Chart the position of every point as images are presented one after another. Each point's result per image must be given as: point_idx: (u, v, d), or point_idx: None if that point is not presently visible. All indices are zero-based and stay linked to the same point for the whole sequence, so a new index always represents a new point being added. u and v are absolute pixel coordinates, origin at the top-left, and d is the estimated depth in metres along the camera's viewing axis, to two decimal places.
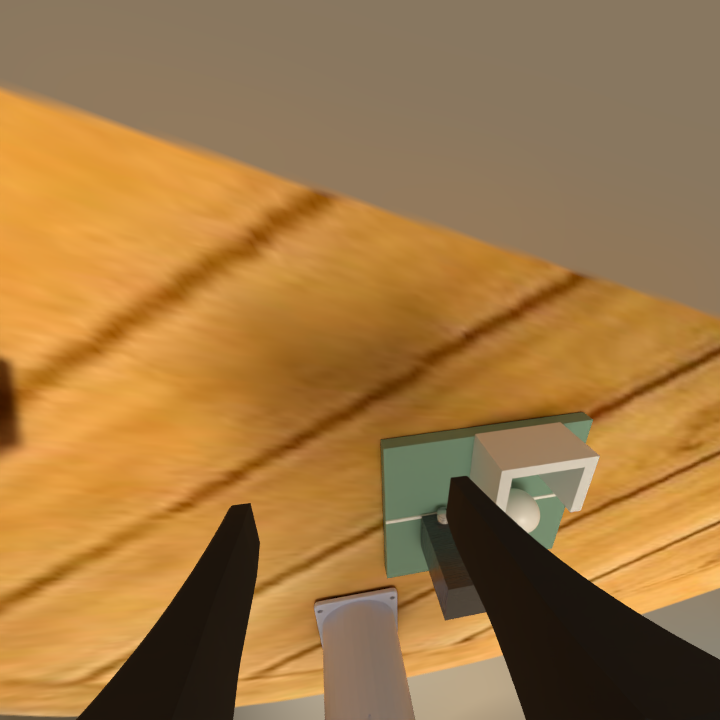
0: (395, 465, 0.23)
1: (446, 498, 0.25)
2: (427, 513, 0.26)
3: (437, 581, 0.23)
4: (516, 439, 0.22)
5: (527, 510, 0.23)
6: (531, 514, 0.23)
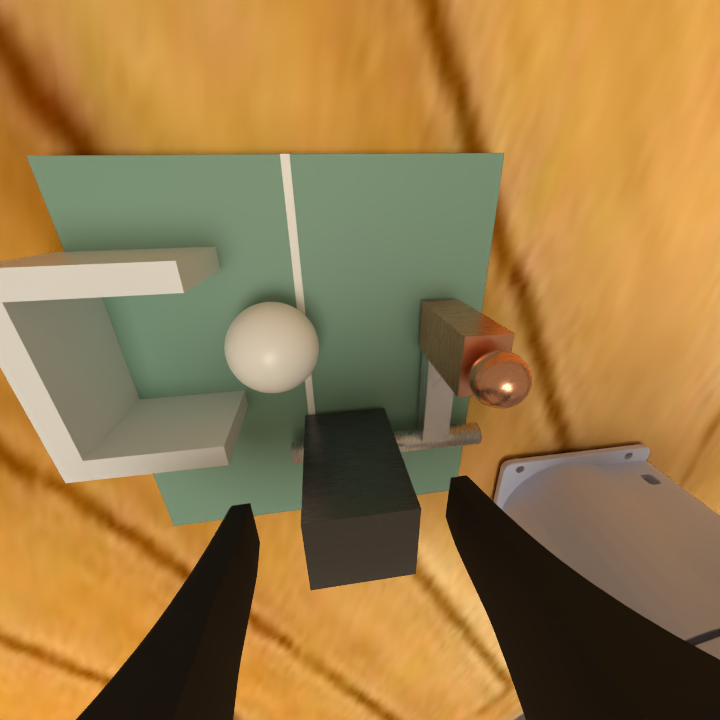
0: (204, 509, 0.16)
1: (279, 435, 0.15)
2: None
3: None
4: None
5: (230, 361, 0.10)
6: (235, 357, 0.10)
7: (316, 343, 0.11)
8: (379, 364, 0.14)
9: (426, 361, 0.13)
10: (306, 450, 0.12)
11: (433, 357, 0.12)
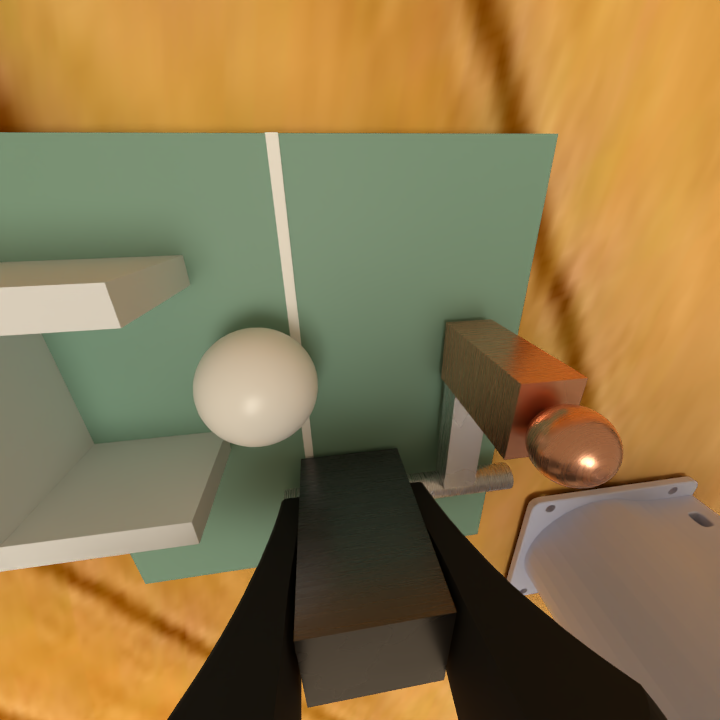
0: (181, 565, 0.13)
1: (270, 481, 0.12)
2: None
3: None
4: None
5: (200, 410, 0.08)
6: (205, 406, 0.07)
7: (314, 382, 0.08)
8: (391, 397, 0.11)
9: (451, 396, 0.11)
10: (302, 512, 0.10)
11: (463, 395, 0.09)
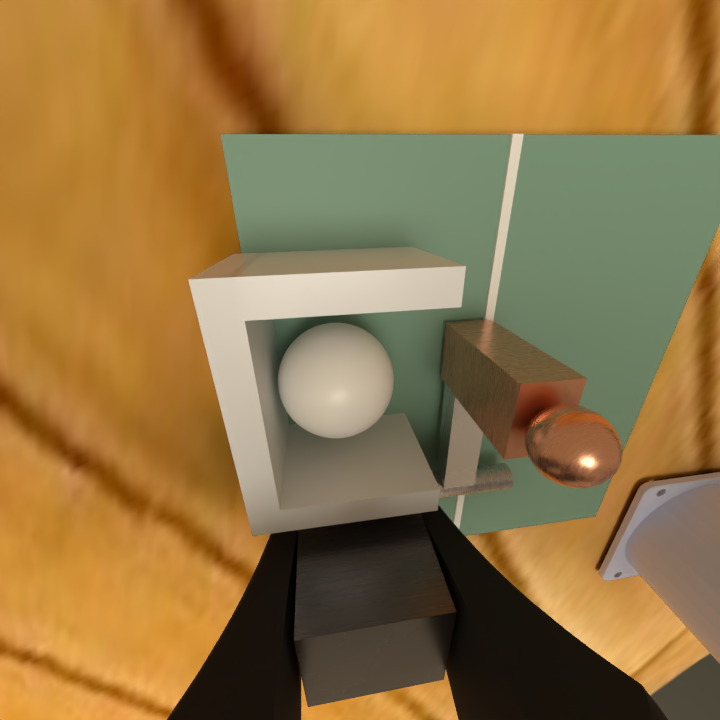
0: None
1: (429, 461, 0.13)
2: None
3: None
4: None
5: None
6: None
7: (280, 387, 0.08)
8: None
9: (451, 396, 0.11)
10: None
11: (463, 396, 0.09)
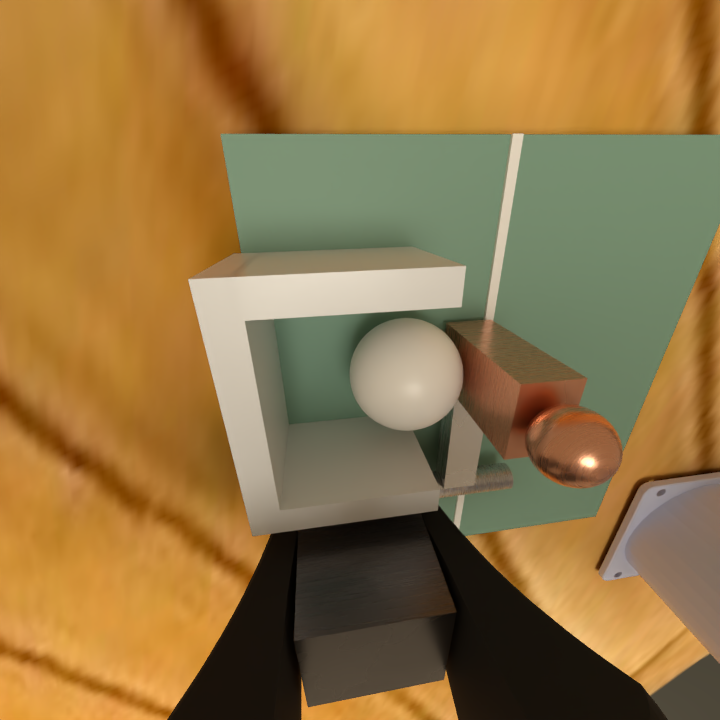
0: None
1: (429, 461, 0.13)
2: None
3: None
4: None
5: None
6: None
7: (423, 396, 0.08)
8: None
9: None
10: None
11: (463, 396, 0.09)
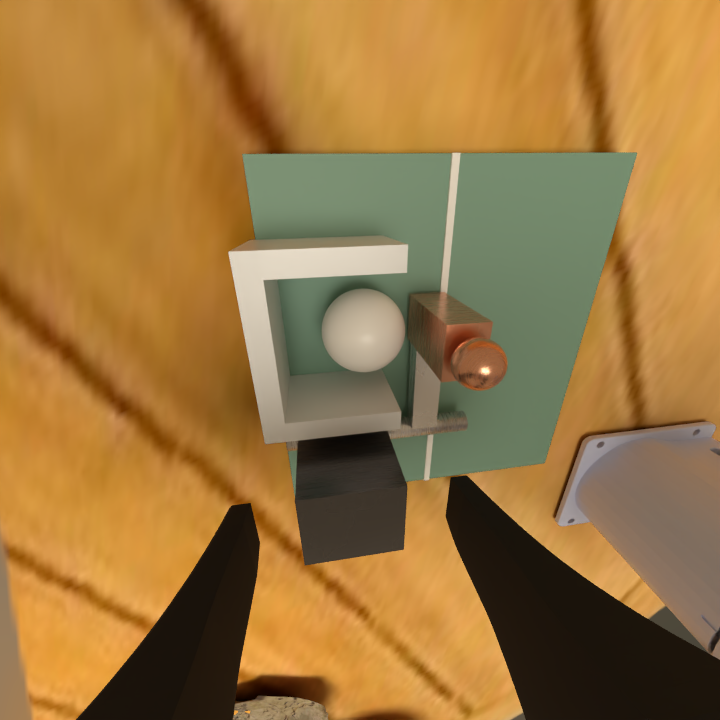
0: None
1: (402, 410, 0.16)
2: None
3: None
4: None
5: None
6: None
7: (355, 341, 0.11)
8: (499, 344, 0.15)
9: (414, 351, 0.14)
10: None
11: (420, 346, 0.12)
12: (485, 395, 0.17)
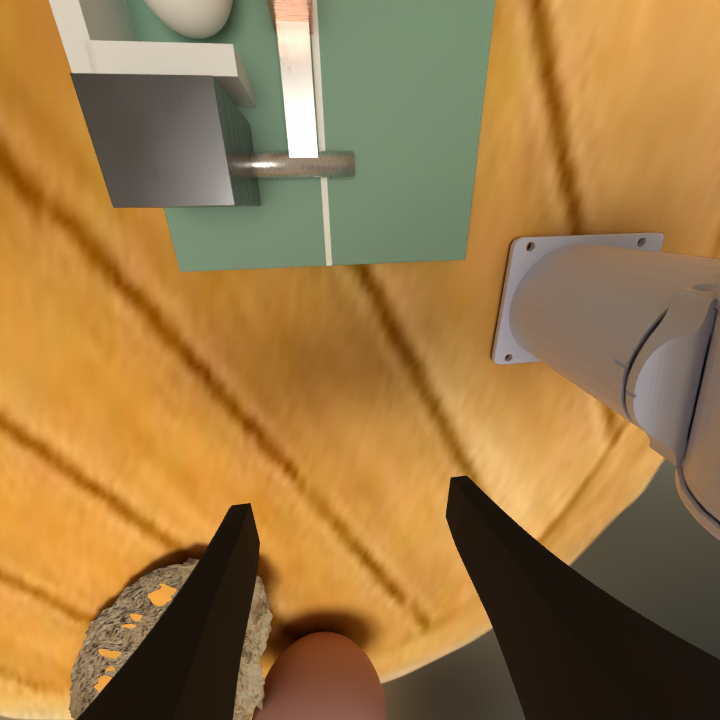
0: (210, 252, 0.16)
1: None
2: (320, 191, 0.15)
3: None
4: None
5: None
6: None
7: None
8: (389, 64, 0.14)
9: None
10: None
11: None
12: (382, 144, 0.15)
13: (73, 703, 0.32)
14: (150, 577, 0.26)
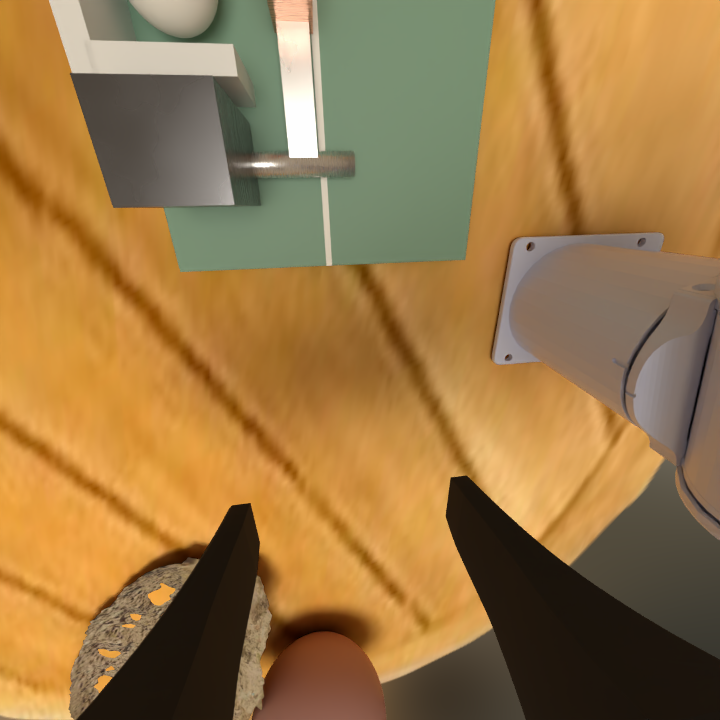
0: (210, 252, 0.16)
1: None
2: (320, 191, 0.15)
3: None
4: None
5: None
6: None
7: None
8: (389, 64, 0.14)
9: None
10: None
11: None
12: (382, 144, 0.15)
13: (72, 703, 0.32)
14: (149, 577, 0.26)
